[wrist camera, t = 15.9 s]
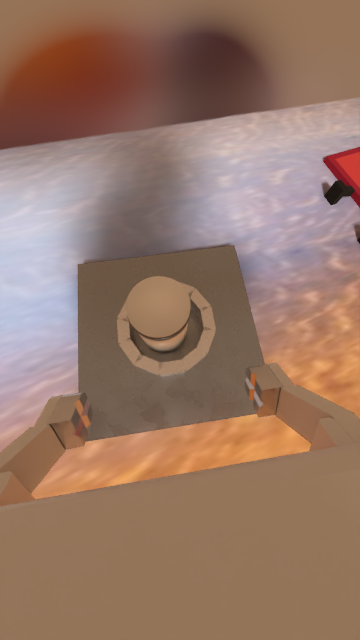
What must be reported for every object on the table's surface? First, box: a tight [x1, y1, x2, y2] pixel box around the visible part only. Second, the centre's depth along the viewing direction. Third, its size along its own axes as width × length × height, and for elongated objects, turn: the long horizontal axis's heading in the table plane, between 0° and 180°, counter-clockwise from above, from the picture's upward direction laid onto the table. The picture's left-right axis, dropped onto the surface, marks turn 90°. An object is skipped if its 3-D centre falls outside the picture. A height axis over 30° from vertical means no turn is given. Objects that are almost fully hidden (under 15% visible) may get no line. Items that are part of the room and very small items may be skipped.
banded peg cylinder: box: [126, 276, 191, 353], centre depth 20 cm, size 5×5×8 cm
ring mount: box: [78, 245, 265, 442], centre depth 23 cm, size 20×20×4 cm
